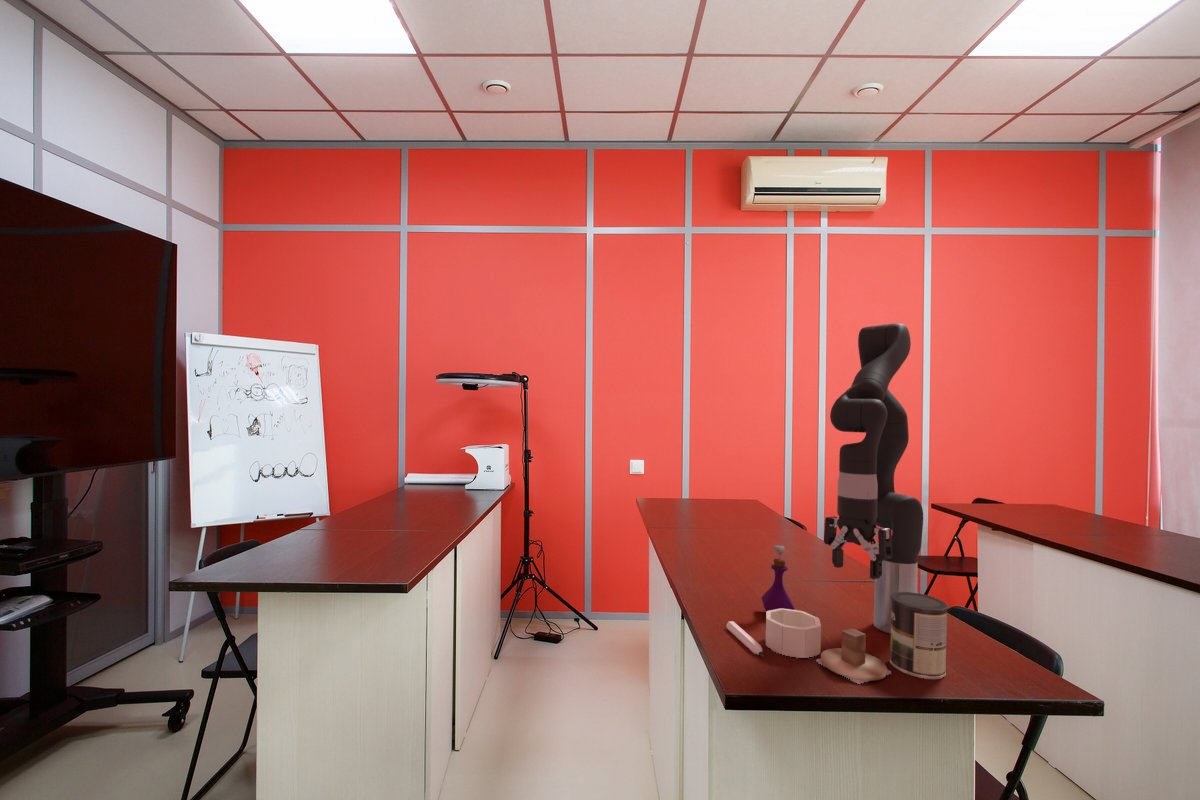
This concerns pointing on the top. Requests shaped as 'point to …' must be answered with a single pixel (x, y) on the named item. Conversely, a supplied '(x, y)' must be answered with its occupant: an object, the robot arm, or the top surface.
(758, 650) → the marker
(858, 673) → the lid
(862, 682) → the mat
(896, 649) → the coffee can
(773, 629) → the pot
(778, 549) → the perfume bottle
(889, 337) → the robot arm
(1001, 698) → the top surface
